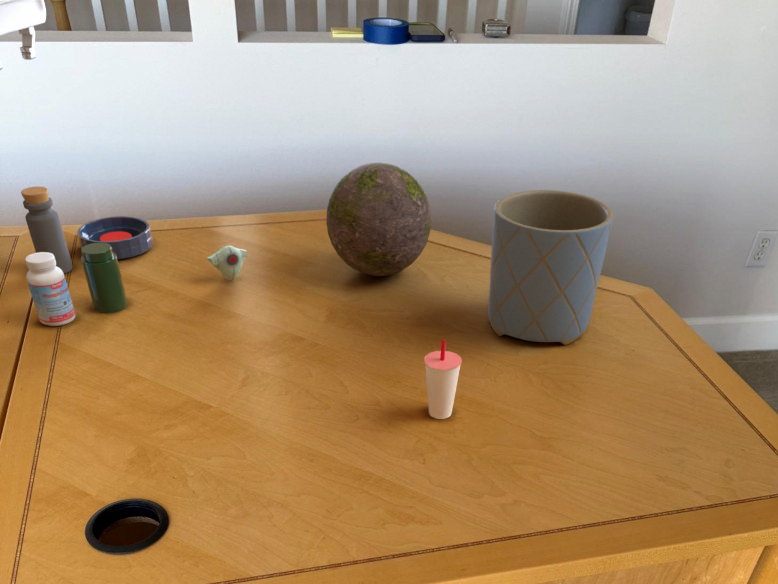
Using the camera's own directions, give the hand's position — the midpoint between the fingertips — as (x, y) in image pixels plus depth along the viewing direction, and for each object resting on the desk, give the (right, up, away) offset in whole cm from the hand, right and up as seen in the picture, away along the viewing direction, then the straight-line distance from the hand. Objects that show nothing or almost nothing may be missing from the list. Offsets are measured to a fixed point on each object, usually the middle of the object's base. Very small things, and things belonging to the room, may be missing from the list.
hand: (13, 64), depth 130 cm
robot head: (+32, -30, +20) cm, 48 cm away
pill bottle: (+4, -41, +7) cm, 42 cm away
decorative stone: (+61, -27, +24) cm, 71 cm away
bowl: (+6, -19, +31) cm, 37 cm away
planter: (+90, -42, +8) cm, 99 cm away
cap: (+6, -18, +30) cm, 35 cm away
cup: (+71, -61, -13) cm, 94 cm away
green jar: (+12, -37, +11) cm, 41 cm away
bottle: (-3, -27, +23) cm, 35 cm away
